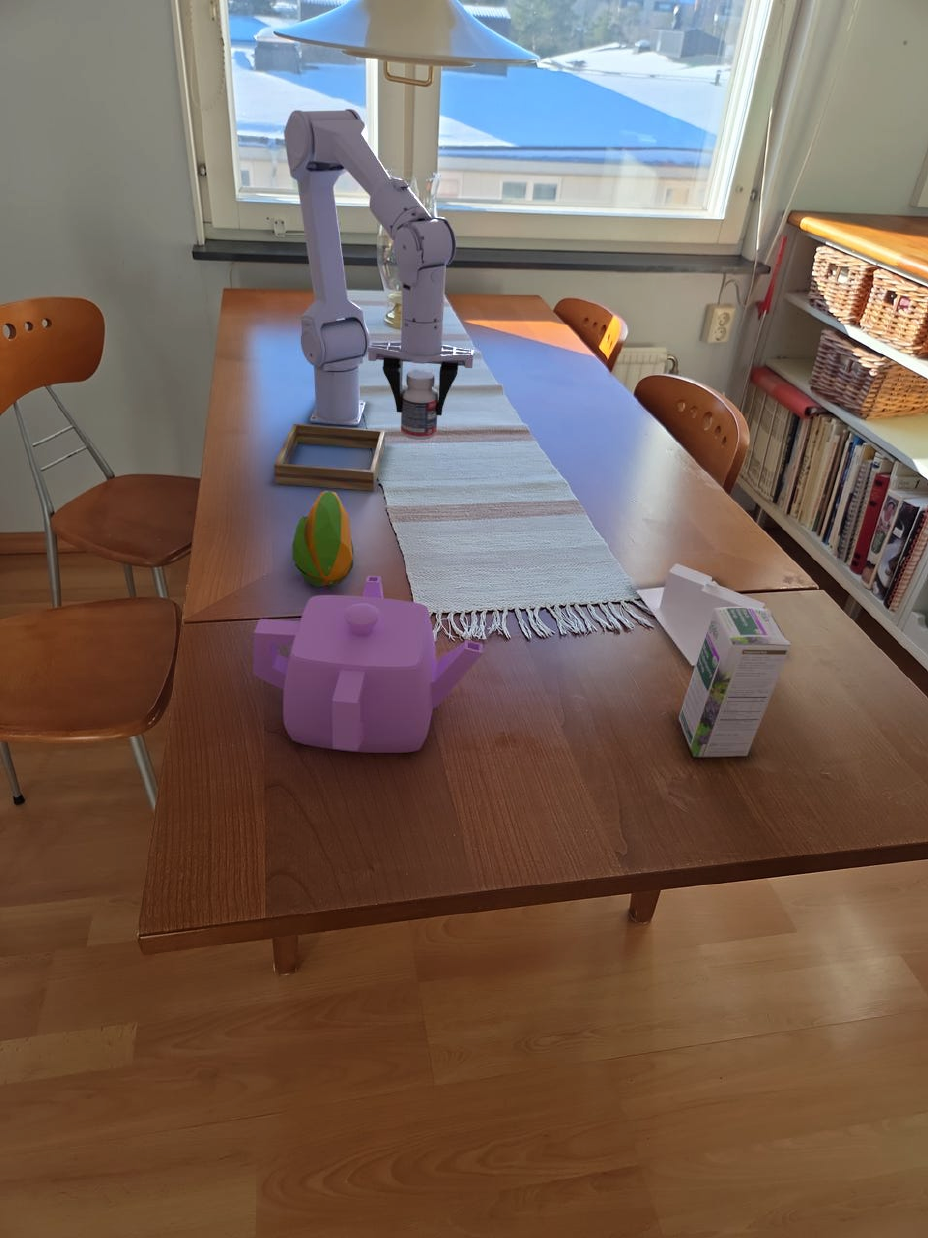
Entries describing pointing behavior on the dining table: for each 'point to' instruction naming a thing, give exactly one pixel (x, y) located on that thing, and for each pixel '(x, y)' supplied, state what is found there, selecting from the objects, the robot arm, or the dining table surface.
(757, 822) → the dining table surface
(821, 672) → the dining table surface
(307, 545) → the corn
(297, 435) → the picture frame
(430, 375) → the pill bottle
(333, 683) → the teakettle
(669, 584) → the napkin holder
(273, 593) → the dining table surface
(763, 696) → the syrup box
